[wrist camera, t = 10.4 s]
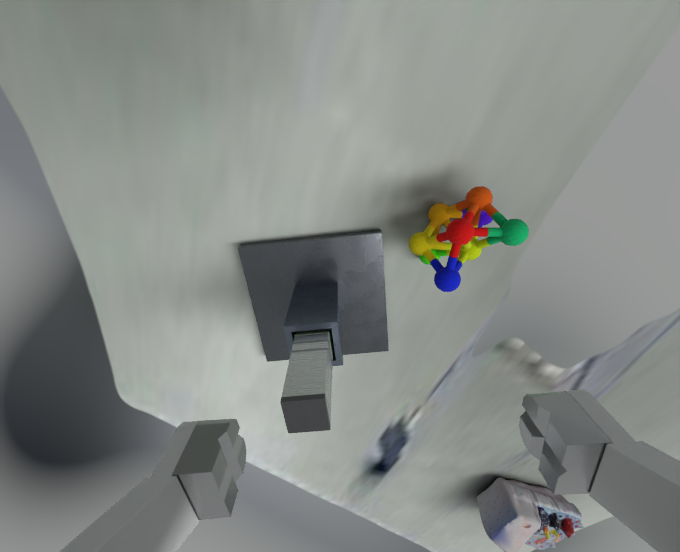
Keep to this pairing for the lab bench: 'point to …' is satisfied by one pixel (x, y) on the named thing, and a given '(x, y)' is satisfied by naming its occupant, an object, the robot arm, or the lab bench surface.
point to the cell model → (526, 515)
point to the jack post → (309, 382)
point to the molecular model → (463, 235)
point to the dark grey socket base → (319, 291)
